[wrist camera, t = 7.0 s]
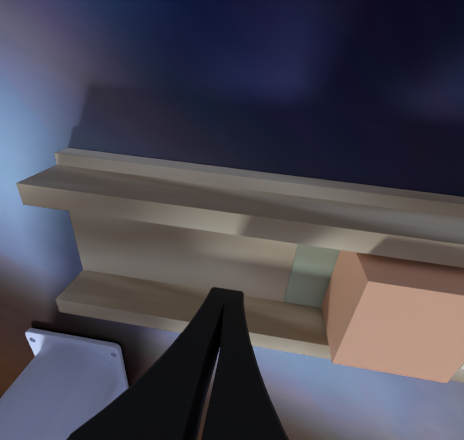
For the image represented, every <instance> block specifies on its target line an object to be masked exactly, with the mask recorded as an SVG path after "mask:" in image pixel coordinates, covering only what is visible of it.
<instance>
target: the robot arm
mask: <svg viewBox="0 0 464 440" xmlns="http://www.w3.org/2000/svg"><path fill="white" fill-rule="evenodd" d="M25 334H26V337H27V339H28V341H29V344H30V346H31V348H32V350H33V352H34V355H35V357H34V358H33V360H32V361H31V362H30V363H29V364H28V366H27V367H26V368H25V369H24V370H23V372H22V373H21V374H20V375H19V377H18V378H17V379H16V380H15V381H14V383H13V384H12V385H11V386H10V387H9V389H8V390H7V391H6V392H5V393H4V395H3V396H2V397H1V398H0V440H197V438H198V433H199V427H200V422H201V417H202V412H203V407H204V403H205V399H206V395H207V392H208V388H209V385H210V381H211V377H212V374H213V370H214V366H215V363H216V359H217V355H218V352H219V348H220V353H219V358H218V363H217V368H216V373H215V378H214V383H213V388H212V392H211V397H210V402H209V407H208V411H207V416H206V420H205V425H204V430H203V434H202V439H201V440H289V439H288V437H287V435H286V433H285V431H284V429H283V427H282V425H281V422H280V420H279V418H278V415H277V413H276V411H275V409H274V406H273V404H272V402H271V400H270V397H269V395H268V392H267V390H266V387H265V384H264V382H263V379H262V376H261V373H260V371H259V368H258V365H257V361H256V358H255V355H254V351H253V348H252V344H251V340H250V336H249V332H248V327H247V322H246V316H245V309H244V293H243V292H242V291H237V290H231V289H224V288H218V287H213V288H211V289H210V291H209V293H208V295H207V297H206V299H205V300H204V302H203V304H202V305H201V307H200V308H199V310H198V311H197V313H196V314H195V316H194V317H193V318H192V320H191V321H190V323H189V324H188V325H187V327H186V328H185V329H184V330H183V332H182V333H181V334H180V335H179V336H178V338H177V339H176V340H175V341H174V343H173V344H172V345H171V346H170V347H169V348H168V349H167V351H166V352H165V353H164V354H163V355H162V356H161V357H160V358H159V359H158V360H157V361H156V362H155V363H154V364H153V365H152V366H151V367H150V368H149V369H148V370H147V371H146V372H145V373H144V374H143V375H142V376H141V377H140V378H139V379H138V380H137V381H136V382H134V383H133V384H132V385H131V386H130V387H128V382H127V376H126V371H125V366H124V361H123V356H122V351H121V347H120V346H119V345H118V344H116V343H112V342H106V341H100V340H95V339H89V338H84V337H78V336H73V335H67V334H62V333H56V332H51V331H45V330H40V329H34V328H30V329H28V330H27V331H26V333H25Z"/></svg>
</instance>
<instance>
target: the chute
mask: <svg viewBox="0 0 464 440" xmlns="http://www.w3.org/2000/svg"><path fill="white" fill-rule="evenodd" d="M54 155H55V159H56V163H57V165H55V166H53V167H51V168H49V169H47V170H44V171H42V172H40V173H38V174H36V175H33V176H31V177H29V178H27V179H25V180H22V181H20V182H18V183H16V184H17V187H18V190H19V193H20V196H21V199H22V202H23V204H24V205H31V206H38V207H44V208H51V209H58V210H65V211H69V215H70V219H71V223H72V227H73V231H74V235H75V239H76V243H77V247H78V251H79V255H80V259H81V263H82V267H83V270H82V271H81V272H80V273H79V275H78V276H77V277H76V278H75V279H74V280H73V281H72V282H71V283H70V284H69V285H68V286H67V287H66V288H65V289H64V290H63V292H62V293H61V294H60V295H59V296H58V297H57V298H56V299H55V300H56V303H57V306H58V309H59V312H63V313H69V314H75V315H80V316H86V317H92V318H97V319H103V320H109V321H115V322H120V323H126V324H132V325H137V326H143V327H149V328H155V329H160V330H166V331H172V332H177V333H182V332H183V330H184V329H185V328H186V327H187V325H188V324H189V323H190V321H191V320H192V318H193V317H194V316H195V314H196V313H197V311H198V310H199V308H200V307H201V305H202V304H203V302H204V300H205V299H206V297H207V295H208V293H209V291H210V289H211V288H213V287H218V288H224V289H231V290H237V291H242V292H243V293H244V309H245V316H246V322H247V327H248V332H249V336H250V340H251V344H252V346H258V347H263V348H269V349H275V350H280V351H286V352H292V353H298V354H303V355H309V356H315V357H320V358H326V359H331V354H330V348H329V343H328V338H327V333H326V328H325V322H324V317H323V312H322V307H321V305H322V302H323V299H324V296H325V293H326V290H327V287H328V284H329V281H330V278H331V276H332V273H333V270H334V267H335V264H336V261H337V258H338V255H339V252H340V250H344V251H351V252H358V253H365V254H372V255H379V256H386V257H393V258H400V259H407V260H414V261H421V262H428V263H435V264H442V265H448V266H455V267H462V268H464V197H460V196H452V195H444V194H436V193H428V192H420V191H412V190H404V189H396V188H388V187H380V186H372V185H364V184H356V183H347V182H339V181H331V180H323V179H315V178H307V177H299V176H291V175H283V174H275V173H267V172H259V171H251V170H243V169H235V168H227V167H219V166H211V165H203V164H195V163H187V162H178V161H170V160H162V159H154V158H146V157H138V156H130V155H122V154H114V153H106V152H98V151H90V150H82V149H74V148H65V149H63V150H60V151H58V152H55V153H54ZM450 380H452V381H458V382H463V383H464V363H463V364H462V365H461V367H460V368H459V369H458V370H457V371H456V373H455V374H454V375H453V376H452V377H451V379H450Z"/></svg>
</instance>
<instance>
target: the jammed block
mask: <svg viewBox="0 0 464 440" xmlns="http://www.w3.org/2000/svg"><path fill="white" fill-rule="evenodd" d="M321 307H322V312H323V317H324V322H325V328H326V333H327V338H328V343H329V348H330V354H331V359H332V363H335V364H341V365H346V366H352V367H358V368H363V369H369V370H375V371H380V372H386V373H392V374H397V375H403V376H409V377H414V378H420V379H426V380H432V381H437V382H443V383H447V382H448V381H449V380H450V379H451V377H452V376H453V375H454V374H455V373H456V371H457V370H458V369H459V368H460V367H461V365H462V364H463V363H464V268H462V267H455V266H448V265H442V264H435V263H428V262H421V261H414V260H407V259H400V258H393V257H386V256H379V255H372V254H365V253H358V252H351V251H344V250H340V252H339V255H338V258H337V261H336V264H335V267H334V270H333V273H332V276H331V278H330V281H329V284H328V287H327V290H326V293H325V296H324V299H323V302H322V305H321Z"/></svg>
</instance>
